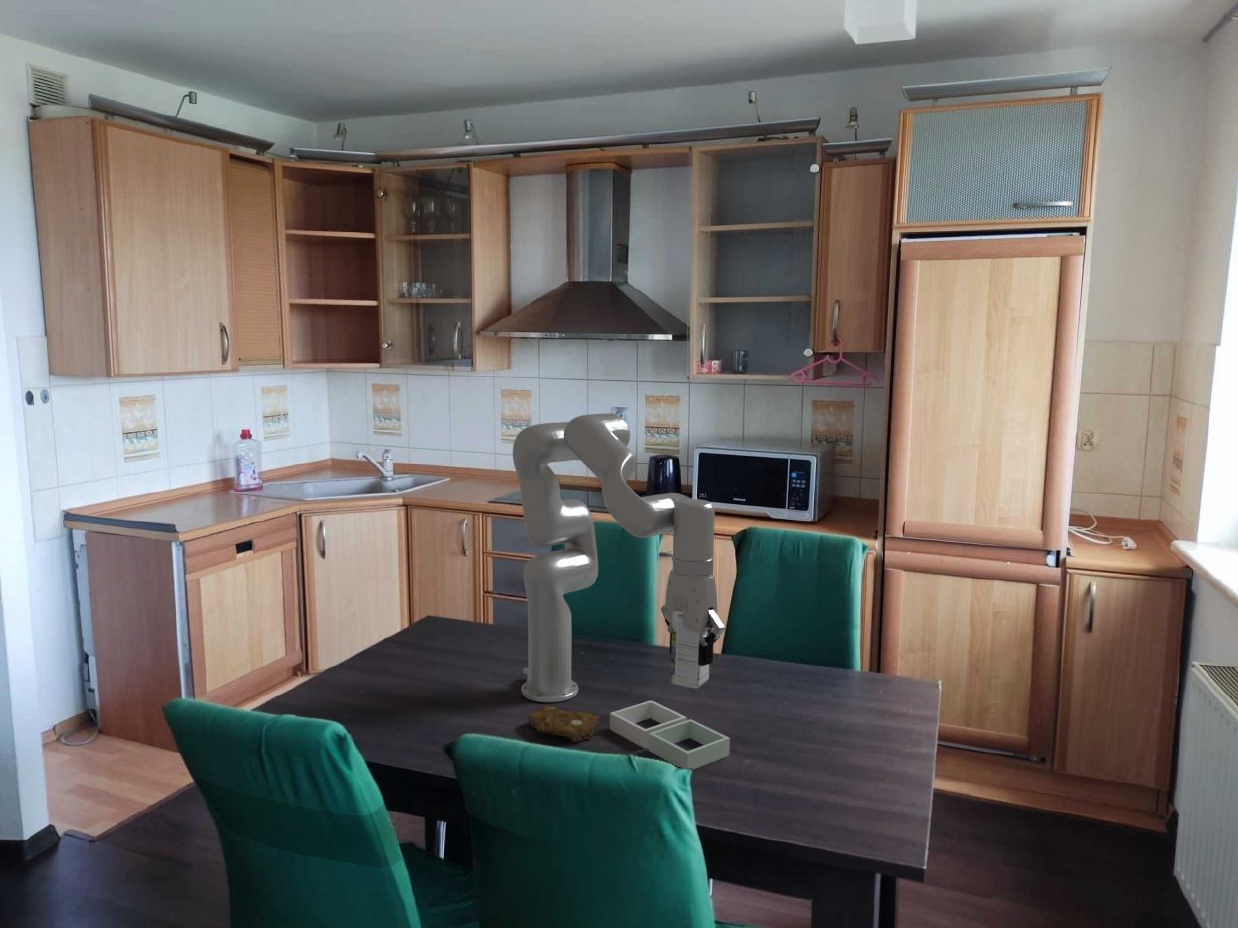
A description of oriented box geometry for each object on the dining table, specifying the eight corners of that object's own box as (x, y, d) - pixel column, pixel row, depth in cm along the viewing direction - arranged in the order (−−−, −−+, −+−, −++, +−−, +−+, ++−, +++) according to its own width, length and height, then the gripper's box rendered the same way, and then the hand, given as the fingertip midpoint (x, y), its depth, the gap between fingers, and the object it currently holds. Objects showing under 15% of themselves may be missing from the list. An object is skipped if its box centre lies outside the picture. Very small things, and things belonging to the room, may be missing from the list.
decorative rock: (515, 740, 181) (588, 752, 178) (516, 721, 180) (588, 733, 177) (536, 715, 192) (604, 725, 188) (536, 696, 191) (605, 707, 188)
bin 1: (609, 729, 185) (610, 712, 185) (650, 716, 192) (651, 700, 192) (644, 748, 177) (645, 731, 176) (686, 733, 184) (686, 717, 183)
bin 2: (648, 750, 176) (648, 733, 176) (690, 735, 183) (690, 719, 182) (687, 771, 168) (687, 753, 167) (729, 755, 174) (729, 737, 174)
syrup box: (682, 674, 177) (683, 601, 175) (710, 680, 174) (712, 606, 172) (669, 684, 172) (671, 609, 170) (698, 690, 169) (700, 614, 167)
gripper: (647, 560, 175) (645, 649, 177) (711, 579, 161) (708, 676, 164) (676, 554, 179) (674, 642, 182) (741, 573, 166) (738, 667, 168)
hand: (690, 657), depth 173 cm, fingers closed on syrup box, 7 cm apart
